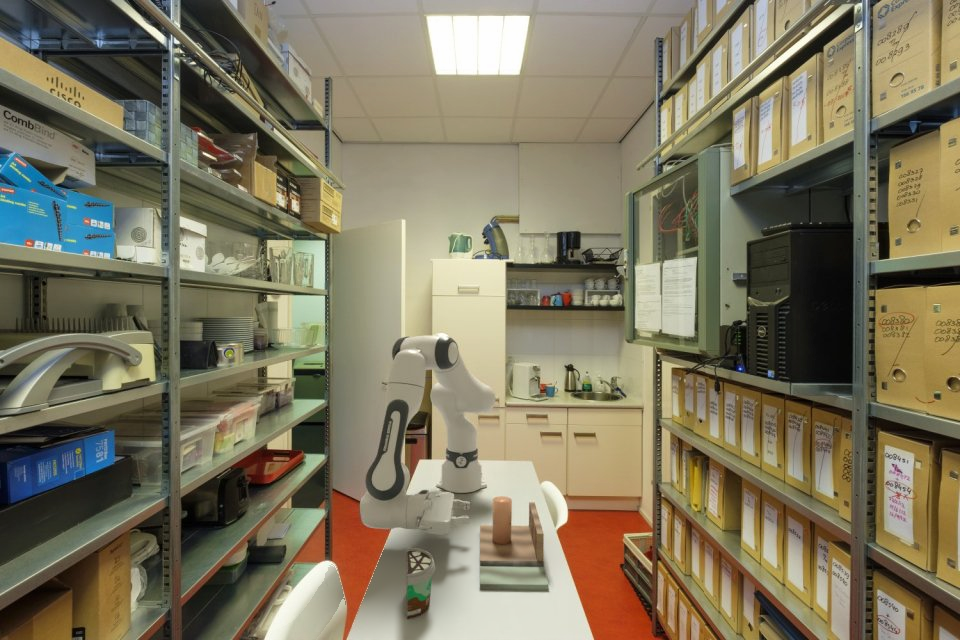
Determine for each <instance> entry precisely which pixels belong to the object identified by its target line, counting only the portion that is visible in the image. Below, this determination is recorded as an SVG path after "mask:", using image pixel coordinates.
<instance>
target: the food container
mask: <svg viewBox="0 0 960 640" xmlns="http://www.w3.org/2000/svg"><path fill="white" fill-rule="evenodd" d="M435 571H436V564H435V560H434V558H433V556H432V554H431V553H430V552H428V551H427V550H425V549H422V548H417V547H406V618H407V619H406V620H411V619H415V618H418V617H420V616H422V615H423V614H426V612H427V611H428V610H429V609H430V603H431V592H432V578H433V575H434V574H435Z"/></svg>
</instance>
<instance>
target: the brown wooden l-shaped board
mask: <svg viewBox="0 0 960 640" xmlns="http://www.w3.org/2000/svg"><path fill="white" fill-rule="evenodd" d="M479 527H480V528H479V590H518V591H519V590H520V591H521V590H524V591H525V590H527V591H528V590H531V591H534V590H535V591H539V590H540V591H544V590H545V591H548V590H549V582H548V579H547V575H546V569H545V562H544V545H545V544H544V542H545V541H544V540H545V539H544V538H545V537H544V536H545V535H544V534H545V533H544V529H543V527H542V523H541V520H540V517H539V513H538V509H537V505H536V503H535V502H534V501H531V502H528V525H511V542H510V543H508V544H497V543H495V542H493V540H492V532H493V524H492V525H489V524H488V525H486V524H485V525H479Z"/></svg>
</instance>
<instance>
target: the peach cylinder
mask: <svg viewBox="0 0 960 640" xmlns="http://www.w3.org/2000/svg"><path fill="white" fill-rule="evenodd" d="M512 502H513V500H512V498H510V497H509V496H496V497H494V498H493V499H492V526H493V532H492V540H493V542H495V543H497V544H508V543H510V542H511V526H512V520H513V519H512V513H513V512H512V509H513V508H512V507H513V506H512V505H513V503H512Z"/></svg>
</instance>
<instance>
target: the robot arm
mask: <svg viewBox="0 0 960 640" xmlns="http://www.w3.org/2000/svg"><path fill="white" fill-rule="evenodd" d="M462 357H463V356H462V355H461V352H460V350H459V347H458V343H457V342H456V341H455V339H453V338H452V337H451V336H449V335H448V334H446V333H444V332H437V333H434V334H432V335H426V334H425V335H416V336H404V337H400V338H398V339H397V340H396V341H395V342H394V344H393V346H392V349H391V358H392V364H391V367H390V371H389V374H388V379H387V385H386V391H385V401H384V402H385V404H384V406H385V407H384V420H383V425H382V430H381V434H380V439H379V443H378V449H377V454H376V456H375V458H374V460H373V462H372V463H371V465H370V467H368V470H367V472H366V474H365V487H366V492H365V494H363V496H362V497H361V498H360V501H359V507H358V509H359V510H358V511H359V518H360V520H361V521H360V522H361V523H362V524H363V526H366V527H367V528H372V529H377V530H378V529H381V530H394V529H397V528H400V529H404V530H419V531H422V533H424V534H429V535H438V536H439V535H441V536H446V535H450V533H451V531H452V528H453V527H459V526H462V525H469V523H470V516H469V515H468V514H466V515H465V514H463V515H461V516H457V517H456V515H455V516H454V509H463V510H467V511H468V510H470V507H471V506H470V503H471V502H470V501H467V500H466V501H464V500H461V499H459V498H458V499H456V498H455V494H457V493H458V494H464V493H465V494H466V493H471V492H472V493H473V492H475V491H478V490H480V489H484V488H487V487H488V485H487V482H486V480H485V478H484V477H483V470H482V468H483V467H482V466H483V465H482V464H481V462H480V461H479V460H478V458H479V457H478V456H479V450H478V445H477V443H478V441H477V439H478V438H477V437H478V430H477V428H476V426H475V425H476V424H474V423H473V422H472V421H470V420H469V419H468V418H467V417H466V414H465V413H469V414H483V413H484V414H485V413H489V412H490V411H492V410H493V408H494V406H495V404H496V393H495V391H494V389H493V388H492V387H491V386H490V385H488V384H485V383H484V382H482V381H481V380H479V379H478V378H477V377H476V376H474V375H473V373H472V372H470V370H469V369H468V367H467V366H466V364H465V361H464V359H463V358H462ZM430 370H431V371H432V372H433V374H434V375H435V378H436V380H437V381H438V382H436V383H435V384H434V385H433V387H432V388H431V390H430V395H429V396H430V401H431V404H432V405H433V407H435V409H437V410H438V412H439V413H440V415H441V416H442V419H443V421H444V424H445V428H446V443H447V445H446V449H445V461H444V462H443V463H442V464H441V476H440V479H439V480H438V481H437V482H436V484H435V485H436V487H437V488H440V489H443V490H444V491H440V490H439V491H433V490H432V491H430V490H429V489H422V490H420V491H419V492H417V493H414V494H407V492H408V487H409V484H410V480H411V475H410V471H409V468H408V467H407V465H406V463H404V462H402V455H403V454H402V453H403V449H404V444H405V443H404V442H405V437H406V433H407V428H408V425H409V424H410V422H411V420H413V418H414V416H415V415H417V413H418V412H419V411H420V408H421V406H422V405H421V404H422V403H423V399H424V395H425V388H426V387H425V386H426V375H427V373H426V372H427V371H430ZM454 493H455V494H454Z"/></svg>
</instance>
